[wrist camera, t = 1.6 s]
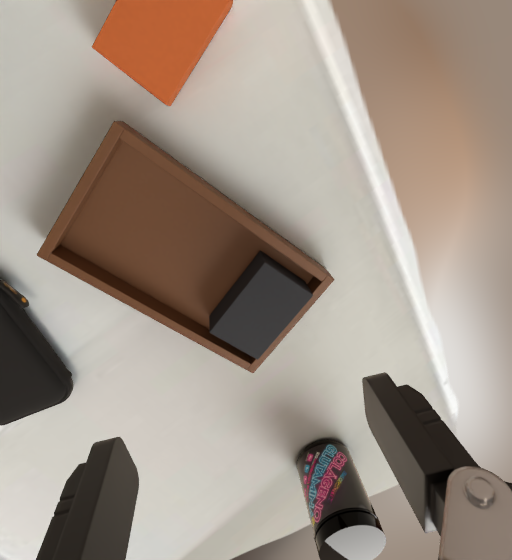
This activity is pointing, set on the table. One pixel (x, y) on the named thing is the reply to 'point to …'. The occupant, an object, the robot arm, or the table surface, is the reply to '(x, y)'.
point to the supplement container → (338, 504)
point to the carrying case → (26, 363)
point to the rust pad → (160, 40)
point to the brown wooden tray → (166, 240)
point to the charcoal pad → (259, 306)
